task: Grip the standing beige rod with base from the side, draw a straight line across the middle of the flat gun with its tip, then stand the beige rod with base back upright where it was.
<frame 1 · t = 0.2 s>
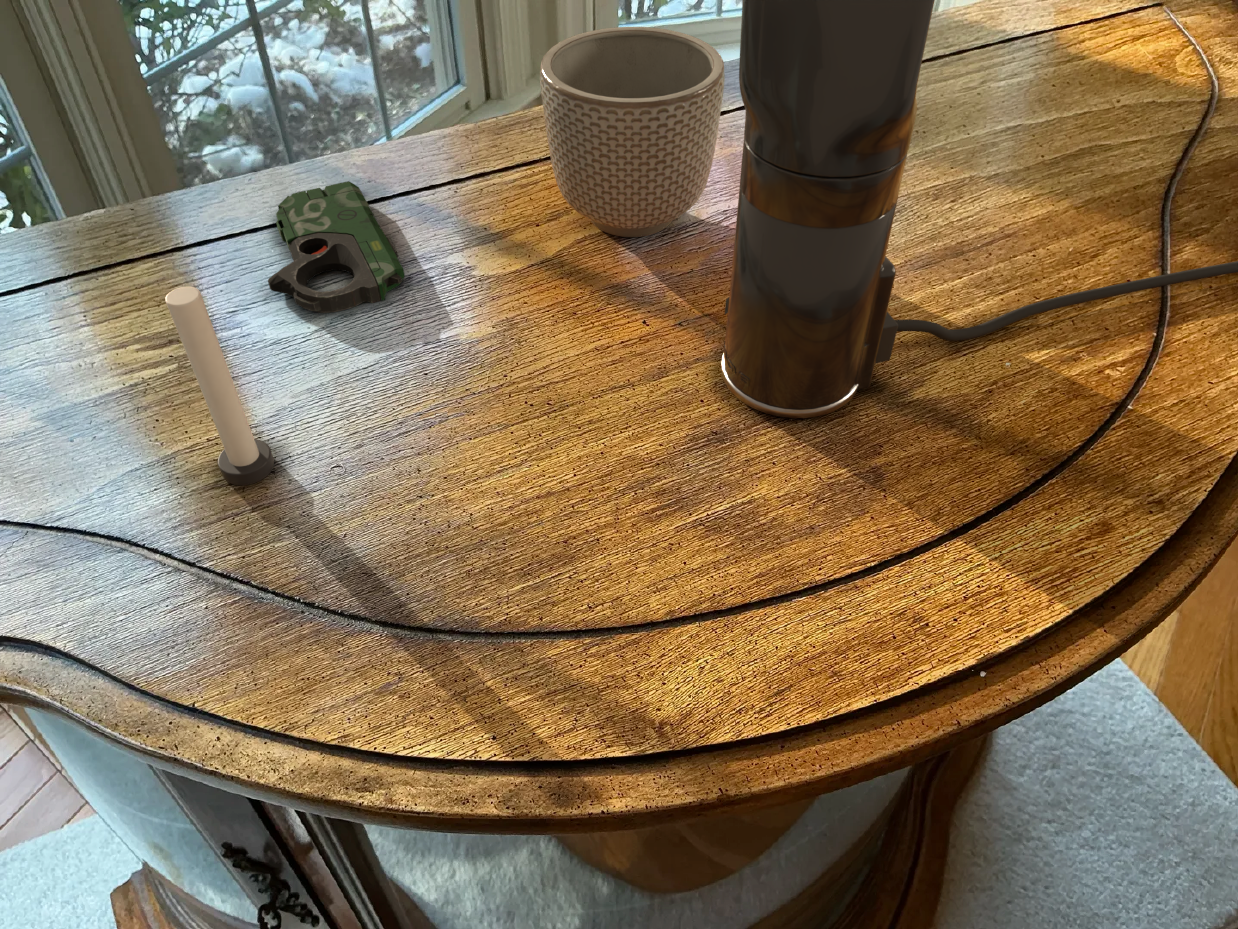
gun: (326, 255, 79), on the dresser
beige rod with base: (248, 467, 62), on the dresser
planter: (631, 217, 83), on the dresser
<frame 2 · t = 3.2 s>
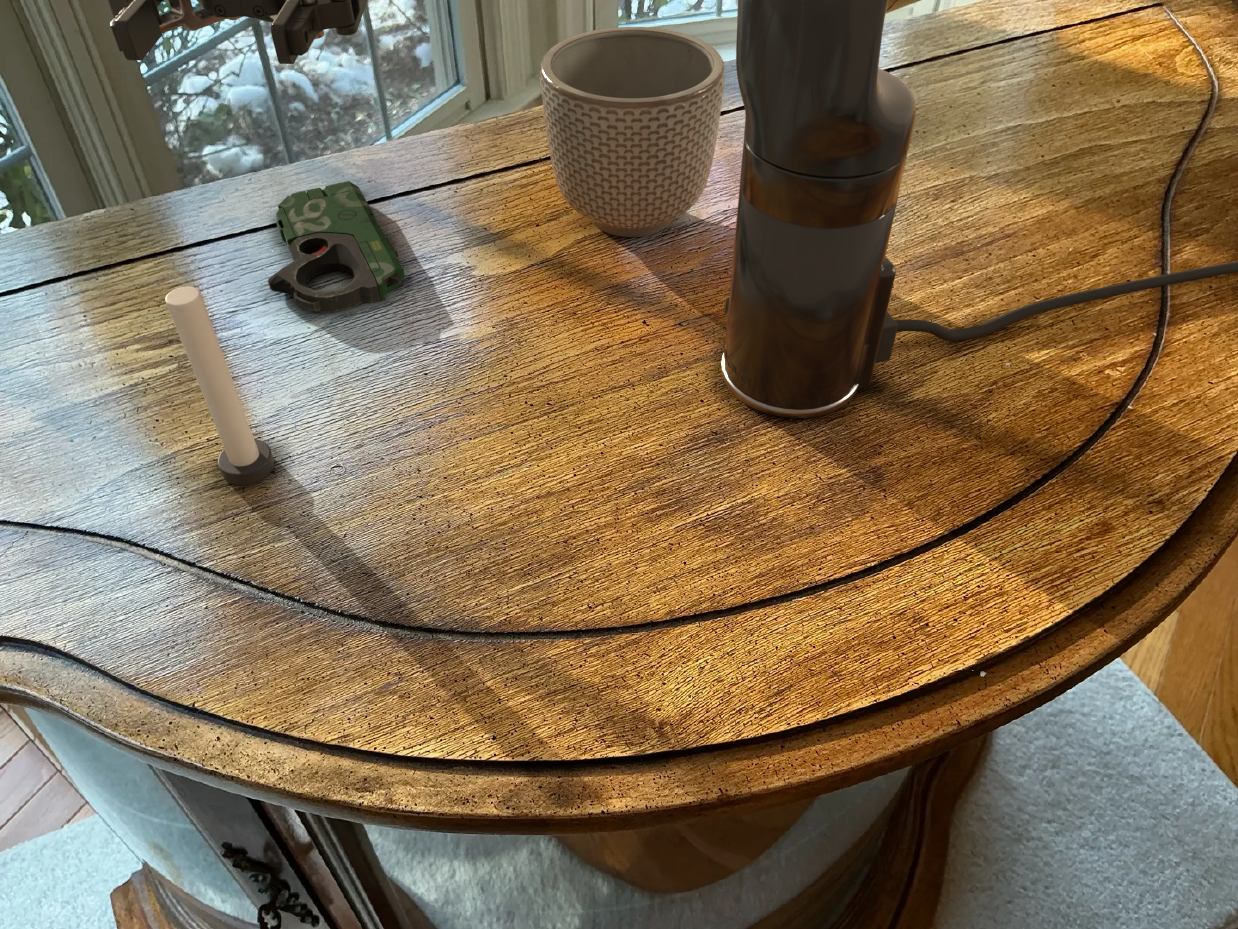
hand: (203, 45, 54), 22 cm above the dresser, tool horizontal, fingers open, 8 cm apart
nothing on the dresser moved.
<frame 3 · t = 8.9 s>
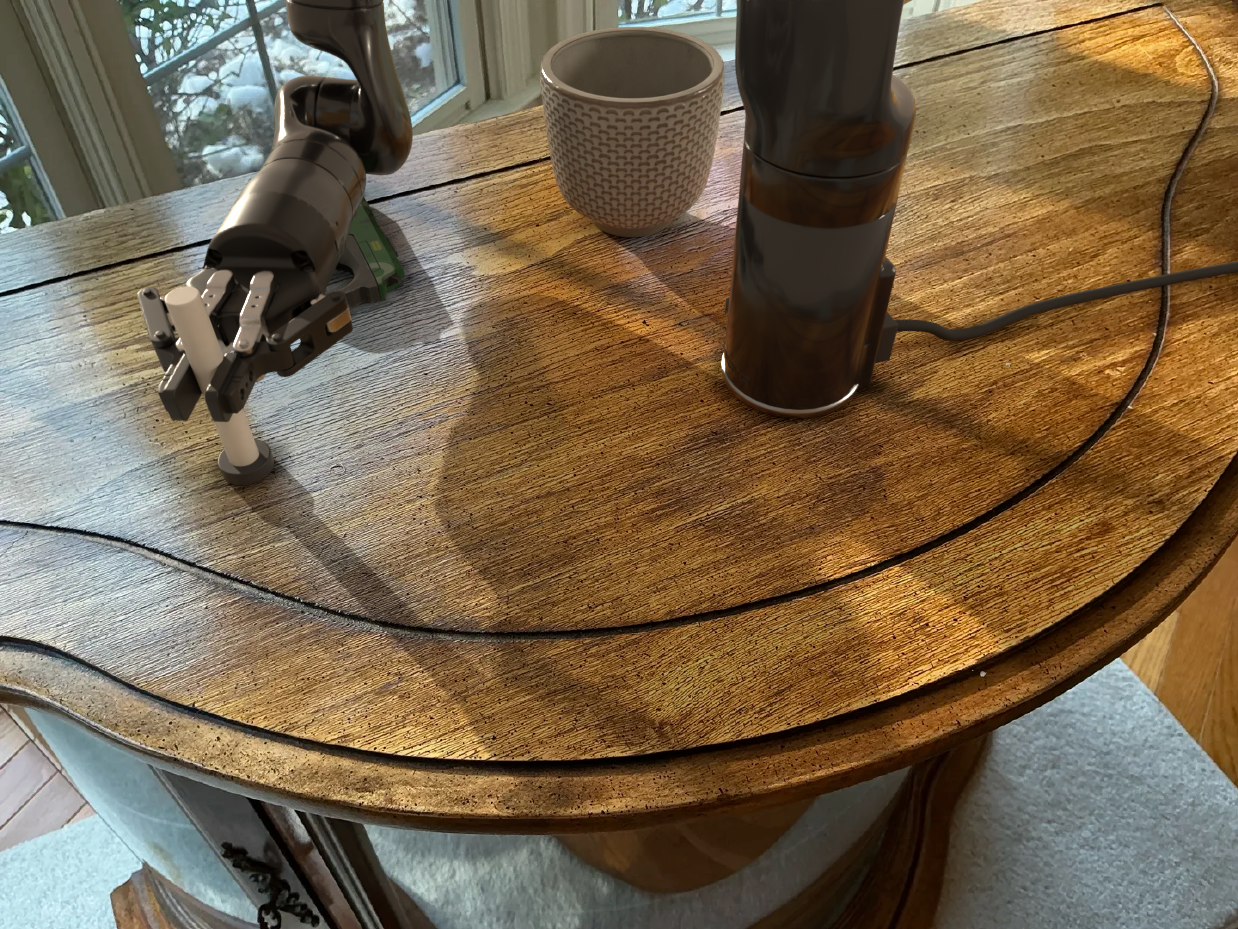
hand: (195, 409, 54), 8 cm above the dresser, tool horizontal, fingers closed on beige rod with base, 2 cm apart
beige rod with base: (248, 467, 62), on the dresser, touching gripper
everything else where it was.
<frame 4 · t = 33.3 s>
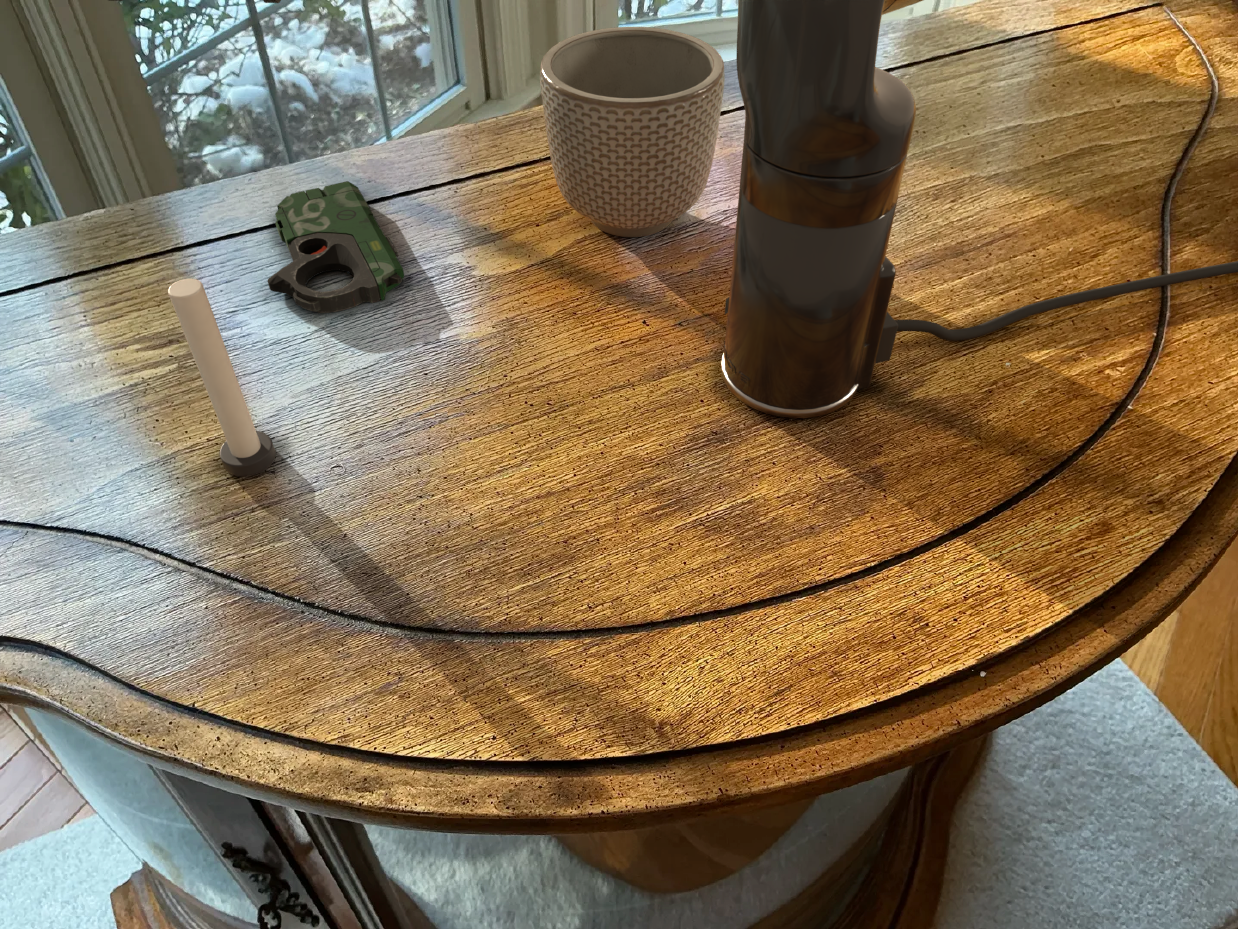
beige rod with base: (250, 459, 62), on the dresser
everything else where it was.
at the end: beige rod with base tilted 0°; beige rod with base inside the target area (0.7 cm from its centre), on the dresser; gun moved 0.2 cm from its start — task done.
